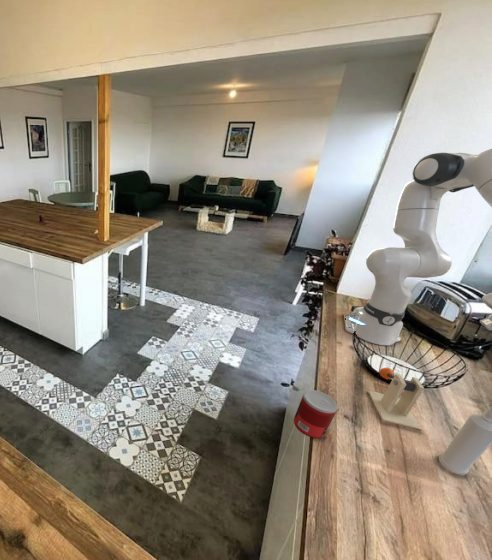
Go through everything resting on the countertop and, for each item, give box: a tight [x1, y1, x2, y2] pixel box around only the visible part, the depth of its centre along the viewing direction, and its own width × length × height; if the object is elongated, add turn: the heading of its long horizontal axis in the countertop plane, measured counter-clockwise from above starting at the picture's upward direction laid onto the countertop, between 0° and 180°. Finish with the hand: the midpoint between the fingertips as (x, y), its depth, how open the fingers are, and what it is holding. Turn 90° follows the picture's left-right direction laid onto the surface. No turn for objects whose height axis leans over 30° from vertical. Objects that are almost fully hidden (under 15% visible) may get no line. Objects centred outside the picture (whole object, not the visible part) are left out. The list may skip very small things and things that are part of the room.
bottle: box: [438, 405, 492, 476], centre depth 74 cm, size 5×5×25 cm
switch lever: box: [379, 367, 415, 392], centre depth 96 cm, size 14×4×4 cm, turn 159°
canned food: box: [293, 389, 338, 439], centre depth 88 cm, size 8×8×11 cm
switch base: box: [367, 373, 425, 431], centre depth 92 cm, size 12×9×13 cm
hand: (484, 325), depth 86 cm, fingers closed
